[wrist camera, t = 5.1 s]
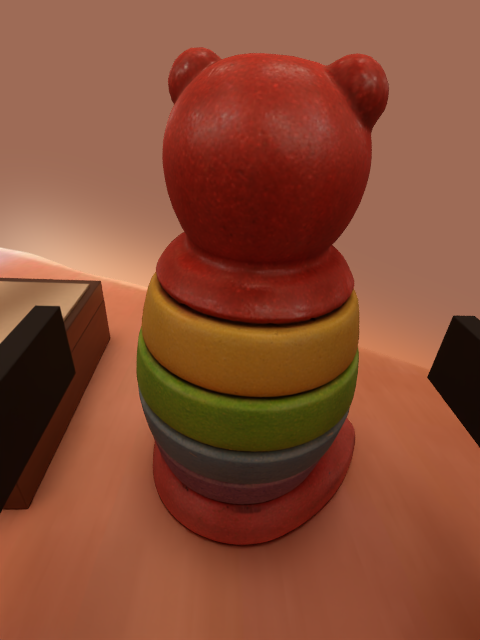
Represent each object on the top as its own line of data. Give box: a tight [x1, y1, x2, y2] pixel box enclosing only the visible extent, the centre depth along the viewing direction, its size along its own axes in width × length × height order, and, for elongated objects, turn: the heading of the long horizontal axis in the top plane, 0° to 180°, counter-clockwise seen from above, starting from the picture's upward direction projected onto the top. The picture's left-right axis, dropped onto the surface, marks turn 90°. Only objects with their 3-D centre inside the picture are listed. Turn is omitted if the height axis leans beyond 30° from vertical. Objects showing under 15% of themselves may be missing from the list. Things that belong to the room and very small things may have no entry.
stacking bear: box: [137, 47, 389, 545], centre depth 15 cm, size 11×10×18 cm
